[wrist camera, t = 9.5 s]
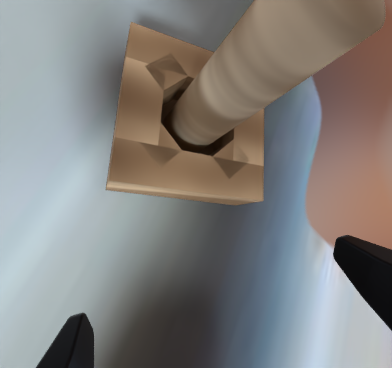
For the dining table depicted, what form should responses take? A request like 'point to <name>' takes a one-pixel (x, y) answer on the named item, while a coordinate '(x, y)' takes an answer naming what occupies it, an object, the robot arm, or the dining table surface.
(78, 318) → the robot arm
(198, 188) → the socket block
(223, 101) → the dowel pin
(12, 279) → the dining table surface
